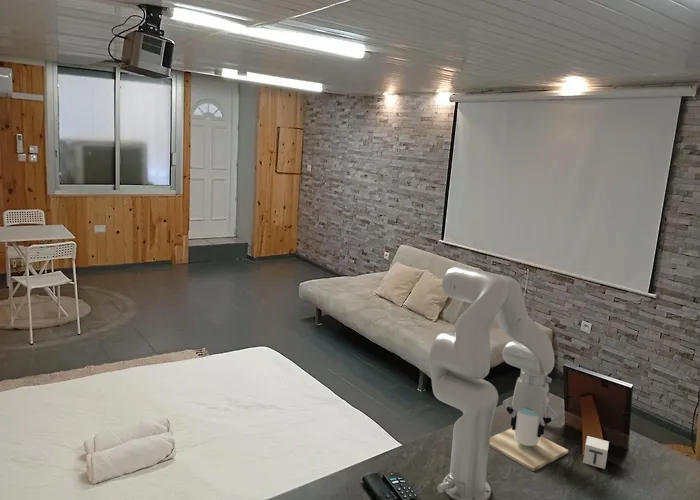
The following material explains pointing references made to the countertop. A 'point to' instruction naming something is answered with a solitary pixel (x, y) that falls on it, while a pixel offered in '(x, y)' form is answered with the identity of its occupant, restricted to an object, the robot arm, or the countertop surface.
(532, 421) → the can
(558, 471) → the countertop surface
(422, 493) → the countertop surface
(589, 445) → the lettered block
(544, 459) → the birch board
